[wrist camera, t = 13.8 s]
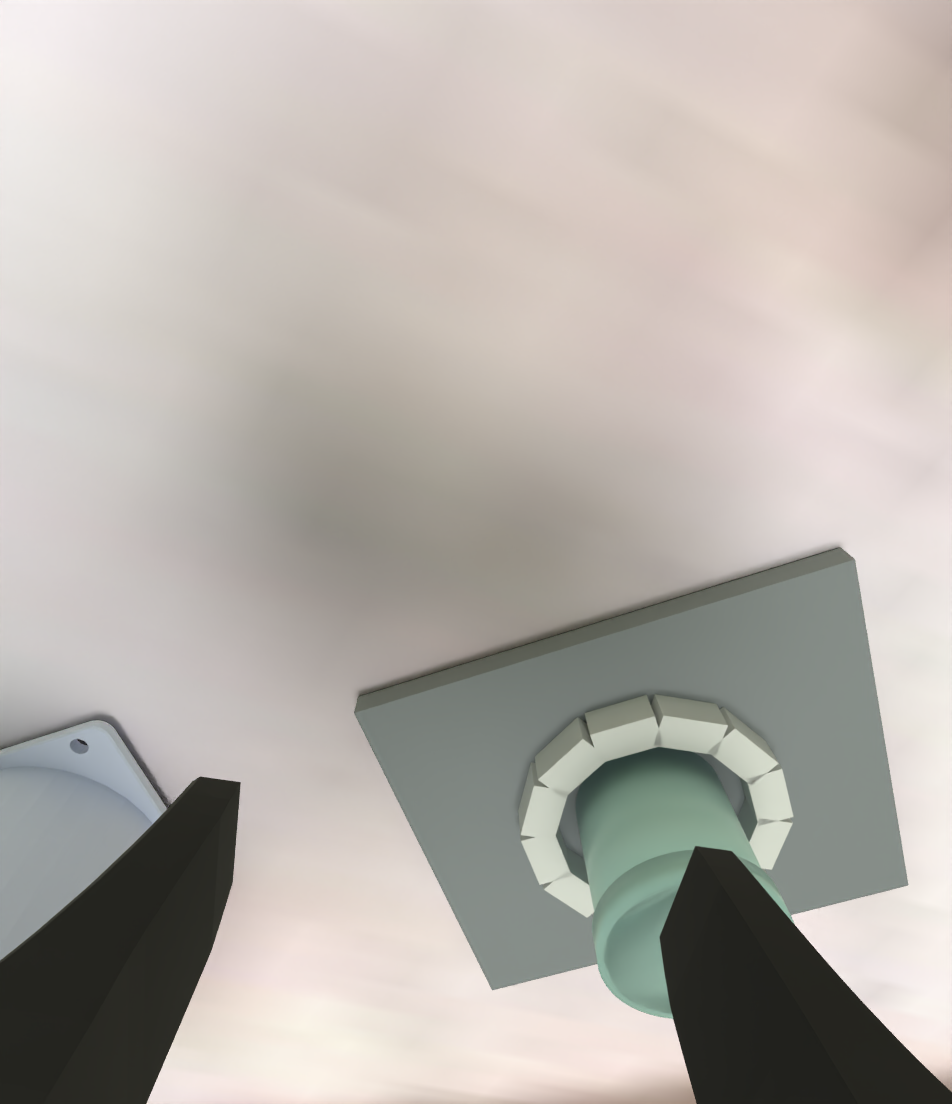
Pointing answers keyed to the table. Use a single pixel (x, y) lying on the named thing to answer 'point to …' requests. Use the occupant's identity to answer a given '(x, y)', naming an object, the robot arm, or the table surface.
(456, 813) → the socket board
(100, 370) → the table surface
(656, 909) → the cup
